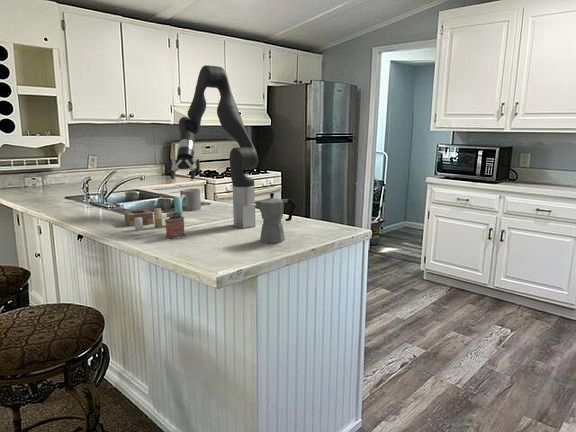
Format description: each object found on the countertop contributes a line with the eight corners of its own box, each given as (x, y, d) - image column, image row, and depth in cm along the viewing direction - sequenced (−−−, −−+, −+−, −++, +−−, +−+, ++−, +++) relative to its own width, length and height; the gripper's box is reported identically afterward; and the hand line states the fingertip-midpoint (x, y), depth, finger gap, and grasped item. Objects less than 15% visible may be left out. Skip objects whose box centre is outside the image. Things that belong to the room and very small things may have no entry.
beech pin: (163, 227, 182) (161, 209, 180) (156, 228, 180) (154, 209, 179) (161, 226, 184) (159, 207, 183) (154, 227, 183) (152, 208, 181)
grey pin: (143, 230, 178) (143, 218, 177) (136, 231, 176) (135, 219, 175) (142, 228, 180) (141, 217, 179) (134, 229, 179) (133, 217, 178)
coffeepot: (253, 243, 157) (252, 195, 153) (255, 237, 166) (254, 191, 162) (296, 243, 156) (296, 194, 153) (295, 237, 166) (295, 190, 162)
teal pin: (183, 224, 187) (182, 197, 184) (177, 225, 185) (175, 198, 183) (181, 223, 189) (180, 196, 187) (174, 224, 188) (173, 197, 185)
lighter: (181, 234, 170) (180, 209, 168) (187, 235, 168) (185, 210, 166) (164, 238, 164) (162, 213, 162) (169, 240, 162) (167, 214, 160)
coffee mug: (191, 206, 229) (190, 187, 227) (205, 208, 223) (204, 189, 221) (171, 210, 218) (170, 191, 216) (185, 212, 212) (184, 192, 210)
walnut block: (153, 223, 189) (152, 212, 188) (129, 226, 184) (128, 215, 183) (147, 219, 197) (146, 209, 196) (124, 222, 192) (123, 211, 191)
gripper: (169, 145, 200) (164, 173, 191) (200, 146, 200) (196, 173, 192) (172, 156, 206) (168, 183, 198) (202, 156, 207) (199, 183, 198)
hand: (182, 178), depth 195 cm, fingers open, 8 cm apart
